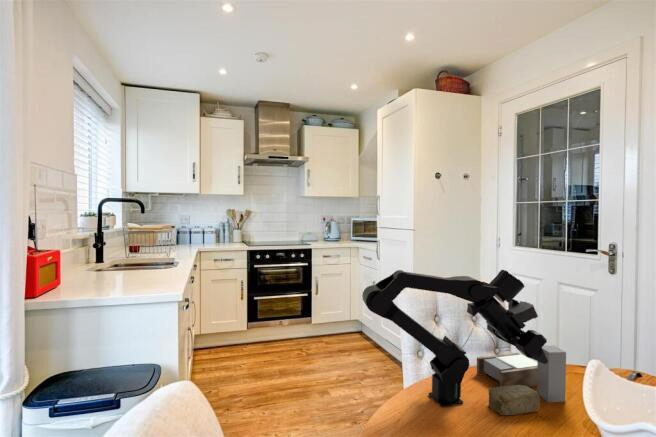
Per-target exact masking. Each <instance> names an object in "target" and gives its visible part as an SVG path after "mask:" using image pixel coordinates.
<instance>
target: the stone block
mask: <svg viewBox="0 0 656 437" xmlns="http://www.w3.org/2000/svg"><path fill="white" fill-rule="evenodd" d="M540 402H541V396H540V395H539V393H538V392H537V390H534V389H532V388H531V387H528V386H524V385H523V386H522V385H512V386H504V387H500V386H495V387H491V388H489V389H488V405H489V407H490V409H491V410H493V411H494V412H497V413H499V414H500V415H502V416H503V415H504V416H513V415H514V416H515V415H521V414H526V413H529V414H530V413H535V412H538V411H539V408H540V404H541V403H540Z"/></svg>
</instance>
